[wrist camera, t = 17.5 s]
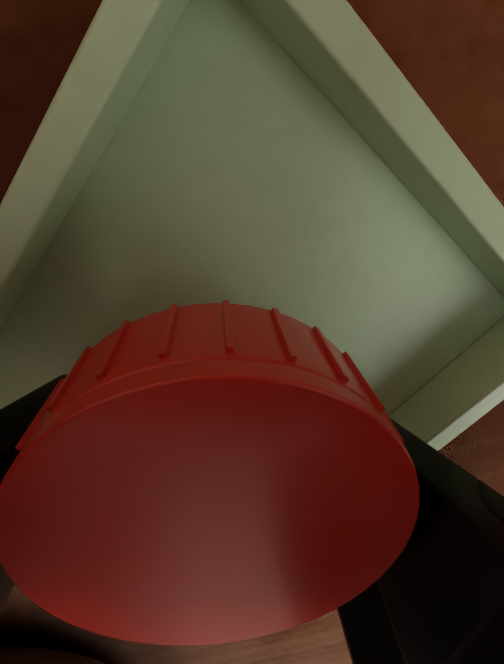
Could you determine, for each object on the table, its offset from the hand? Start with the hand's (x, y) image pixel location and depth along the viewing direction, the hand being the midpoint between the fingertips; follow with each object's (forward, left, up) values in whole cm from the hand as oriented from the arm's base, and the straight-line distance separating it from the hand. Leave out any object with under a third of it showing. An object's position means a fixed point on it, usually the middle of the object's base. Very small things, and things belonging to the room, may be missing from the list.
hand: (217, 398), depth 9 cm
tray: (0, 0, -1) cm, 1 cm away
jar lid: (0, 0, +3) cm, 3 cm away
